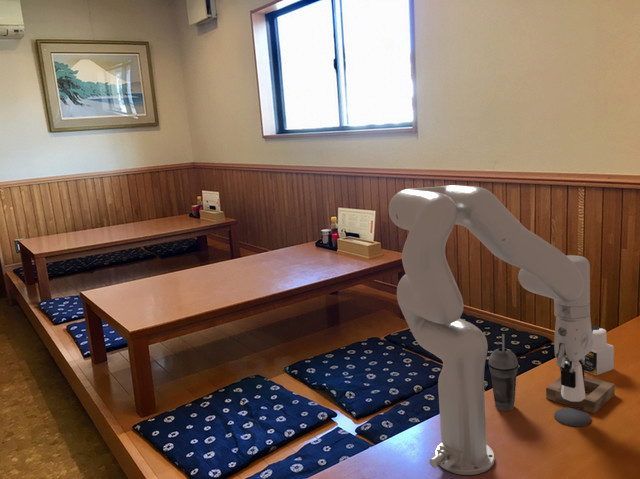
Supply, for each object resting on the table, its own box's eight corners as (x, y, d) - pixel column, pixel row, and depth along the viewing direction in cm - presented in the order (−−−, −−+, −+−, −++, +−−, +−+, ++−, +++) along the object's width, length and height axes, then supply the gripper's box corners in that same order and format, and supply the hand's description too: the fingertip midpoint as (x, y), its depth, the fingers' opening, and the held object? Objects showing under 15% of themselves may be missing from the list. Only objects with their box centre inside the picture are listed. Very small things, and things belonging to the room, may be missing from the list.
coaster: (581, 430, 126) (582, 429, 126) (548, 419, 132) (548, 417, 132) (596, 416, 131) (596, 415, 131) (563, 406, 137) (563, 404, 137)
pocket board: (594, 413, 132) (594, 402, 132) (546, 398, 141) (546, 387, 141) (614, 394, 140) (614, 383, 139) (567, 381, 149) (567, 371, 148)
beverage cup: (515, 398, 142) (513, 326, 139) (523, 413, 135) (521, 337, 131) (487, 400, 143) (484, 328, 139) (492, 414, 136) (490, 338, 132)
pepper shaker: (570, 403, 127) (569, 359, 125) (555, 393, 132) (555, 351, 130) (590, 399, 128) (590, 355, 126) (575, 389, 133) (575, 347, 131)
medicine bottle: (574, 367, 157) (574, 327, 154) (592, 361, 160) (592, 322, 157) (596, 376, 150) (596, 335, 148) (614, 369, 153) (614, 329, 151)
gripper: (571, 323, 118) (572, 401, 121) (604, 301, 128) (604, 374, 132) (538, 316, 123) (540, 391, 127) (572, 296, 134) (572, 366, 138)
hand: (572, 381), depth 130 cm, fingers closed on pepper shaker, 3 cm apart
